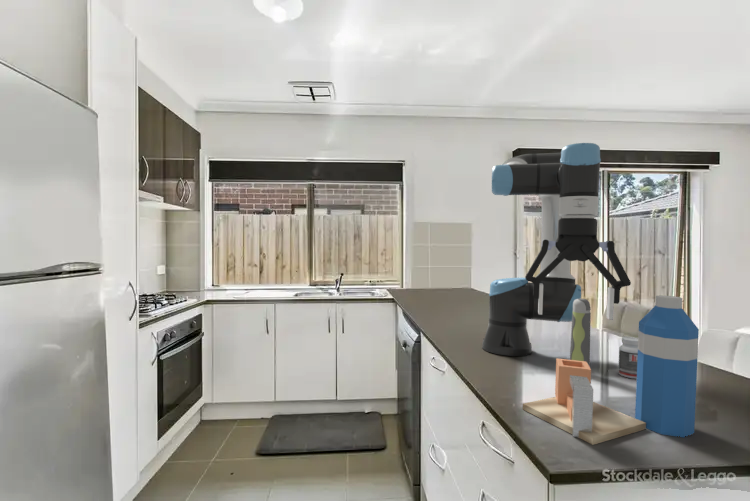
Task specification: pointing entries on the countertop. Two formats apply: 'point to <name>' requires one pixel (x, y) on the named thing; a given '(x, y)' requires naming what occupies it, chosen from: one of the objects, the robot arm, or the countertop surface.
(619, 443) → the countertop surface
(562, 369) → the link
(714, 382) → the countertop surface
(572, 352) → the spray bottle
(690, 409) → the water bottle
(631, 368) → the pill bottle
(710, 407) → the countertop surface
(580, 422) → the block
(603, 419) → the board
